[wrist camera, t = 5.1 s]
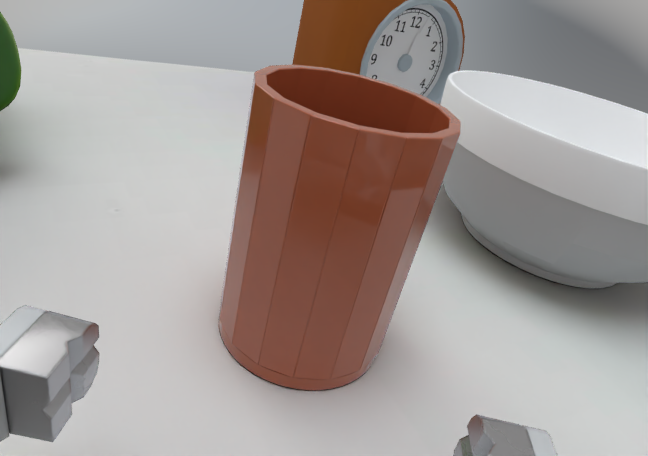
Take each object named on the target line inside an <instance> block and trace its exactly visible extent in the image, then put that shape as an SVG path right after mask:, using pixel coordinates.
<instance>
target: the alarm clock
mask: <svg viewBox="0 0 648 456" xmlns="http://www.w3.org/2000/svg"><path fill="white" fill-rule="evenodd" d="M464 38H465V36H464V29H463V21H462V19H461V16H460V14H459V12H458V9H457V7H456V6H455V5H454V3H453V2H452V1H451V0H304V4H303V9H302V15H301V20H300V26H299V31H298V37H297V42H296V48H295V53H294V59H293V64H292V65H304V66H313V67H323V68H329V69H335V70H340V71H345V72H350V73H355V74H359V75H363V76H366V77H370V78H373V79H377V80H380V81H384V82H387V83H391V84H394V85H396V86H399V87H402V88H404V89H407V90H410V91H412V92H415V93H417V94H420V95H422V96H424V97H426V98H428V99H430V100H432V101H434V102H436V103H437V104H439V105H440V103H441V100H442V96H443V92H444V88H445V84H446V80H447V78H448V76H449V75H450V74H451V73H453V72H456V71H459V69H460V65H461V61H462V57H463V53H464Z"/></svg>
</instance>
